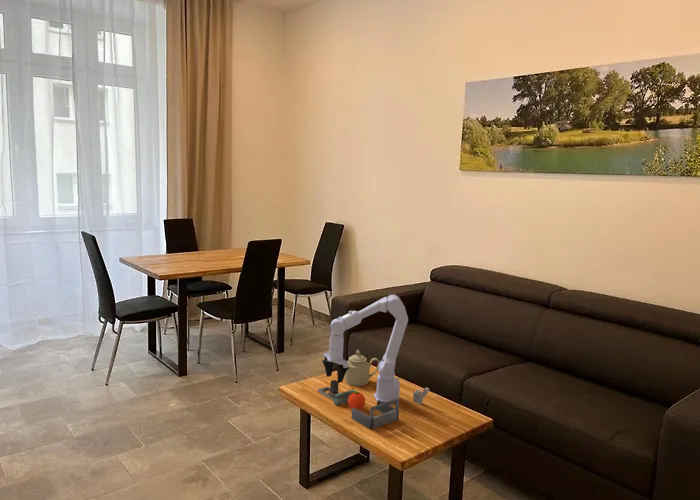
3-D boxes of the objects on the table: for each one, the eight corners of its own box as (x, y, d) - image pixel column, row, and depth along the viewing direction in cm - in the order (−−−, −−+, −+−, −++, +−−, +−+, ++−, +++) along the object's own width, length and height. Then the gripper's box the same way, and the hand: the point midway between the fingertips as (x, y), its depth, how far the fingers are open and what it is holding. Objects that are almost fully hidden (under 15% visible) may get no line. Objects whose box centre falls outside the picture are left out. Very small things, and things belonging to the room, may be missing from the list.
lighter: (412, 401, 228) (413, 383, 227) (415, 400, 229) (416, 382, 228) (425, 407, 223) (427, 388, 222) (428, 406, 224) (429, 387, 223)
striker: (321, 396, 227) (322, 382, 227) (340, 391, 234) (340, 377, 233) (336, 405, 220) (337, 390, 219) (355, 399, 226) (356, 385, 225)
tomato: (342, 406, 220) (343, 389, 219) (357, 402, 224) (357, 386, 223) (353, 413, 213) (354, 396, 212) (368, 410, 217) (369, 393, 216)
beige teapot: (365, 373, 257) (367, 343, 255) (380, 381, 248) (382, 350, 246) (339, 379, 248) (341, 348, 246) (354, 388, 239) (356, 355, 237)
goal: (351, 418, 209) (352, 397, 208) (378, 409, 219) (380, 389, 218) (370, 429, 201) (372, 408, 200) (398, 419, 210) (400, 399, 209)
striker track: (317, 391, 233) (317, 389, 233) (327, 388, 237) (327, 386, 237) (337, 402, 223) (337, 400, 223) (347, 399, 227) (347, 397, 227)
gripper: (318, 344, 229) (316, 375, 231) (339, 354, 218) (338, 386, 220) (331, 342, 234) (329, 372, 236) (353, 351, 223) (351, 383, 225)
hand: (334, 379), depth 228 cm, fingers open, 7 cm apart
